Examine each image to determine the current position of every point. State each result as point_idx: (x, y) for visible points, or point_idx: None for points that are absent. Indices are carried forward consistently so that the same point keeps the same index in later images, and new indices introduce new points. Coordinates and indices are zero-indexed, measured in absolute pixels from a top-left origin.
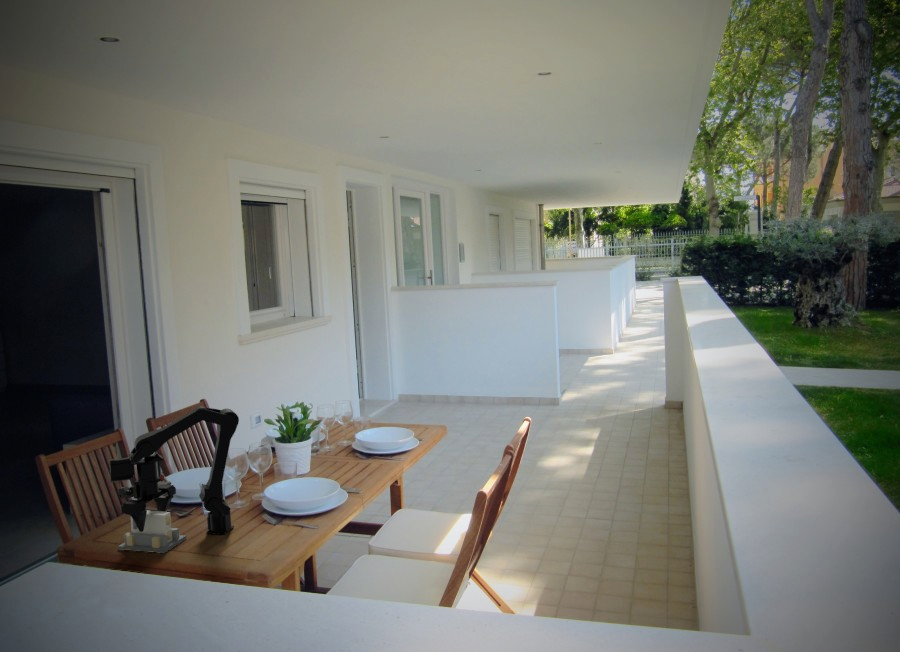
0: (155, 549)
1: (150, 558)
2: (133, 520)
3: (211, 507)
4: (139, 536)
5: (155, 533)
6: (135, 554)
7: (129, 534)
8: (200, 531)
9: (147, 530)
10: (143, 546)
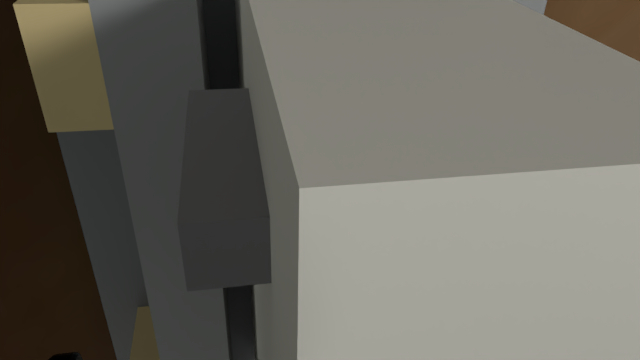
0: (115, 350)
1: (7, 352)
2: (179, 232)
3: None
4: (132, 216)
5: (257, 357)
6: (5, 171)
7: (110, 14)
8: None
9: (256, 293)
10: (128, 208)
